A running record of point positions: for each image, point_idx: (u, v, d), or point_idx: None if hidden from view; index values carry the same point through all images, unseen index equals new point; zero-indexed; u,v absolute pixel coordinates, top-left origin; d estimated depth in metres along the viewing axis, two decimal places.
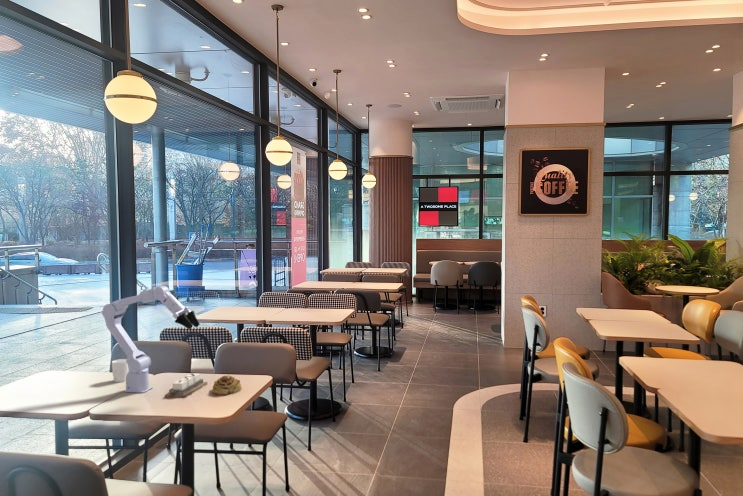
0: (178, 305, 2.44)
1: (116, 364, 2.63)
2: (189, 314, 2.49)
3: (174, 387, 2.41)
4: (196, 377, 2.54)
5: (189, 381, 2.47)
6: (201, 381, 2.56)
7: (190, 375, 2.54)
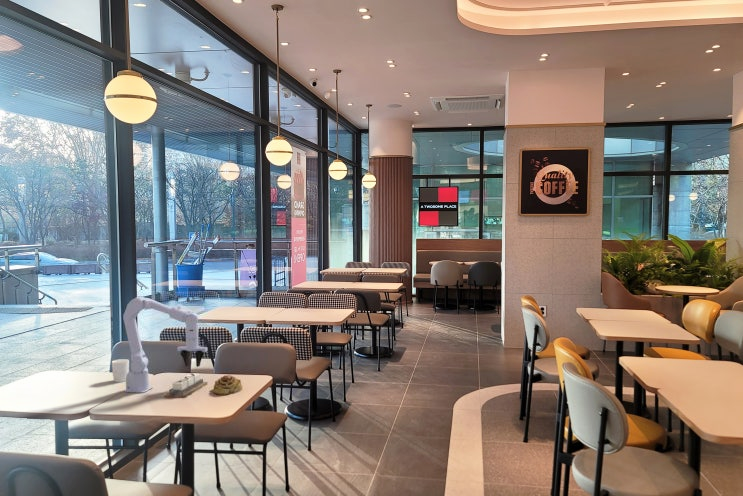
0: None
1: (116, 364, 2.63)
2: (188, 351, 2.56)
3: (174, 387, 2.41)
4: (196, 377, 2.54)
5: (189, 381, 2.47)
6: (201, 381, 2.56)
7: (190, 375, 2.54)
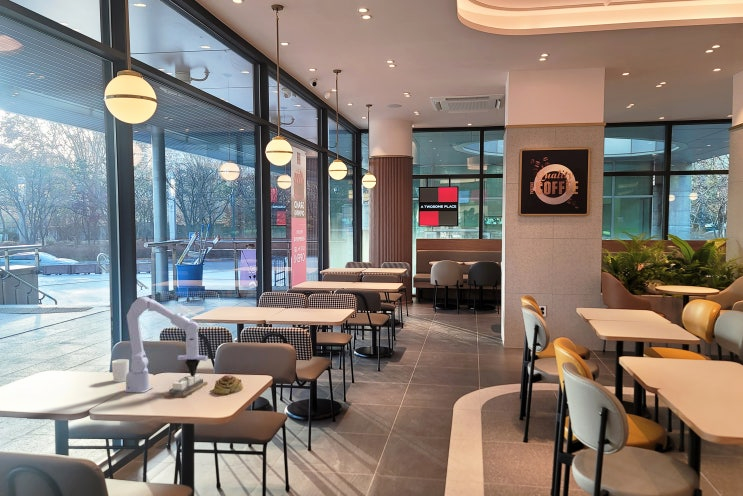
0: None
1: (116, 364, 2.63)
2: None
3: (174, 387, 2.41)
4: (196, 378, 2.54)
5: (189, 381, 2.47)
6: (201, 381, 2.56)
7: (190, 376, 2.54)
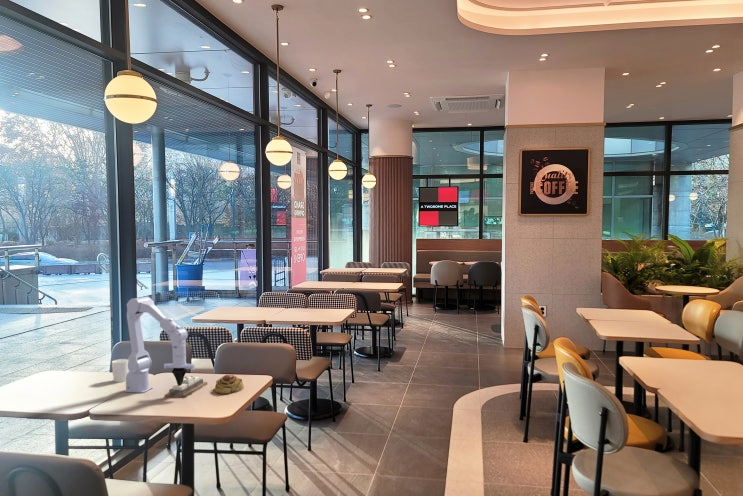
0: None
1: (116, 364, 2.63)
2: None
3: None
4: (196, 380, 2.54)
5: (189, 381, 2.47)
6: (201, 381, 2.56)
7: None
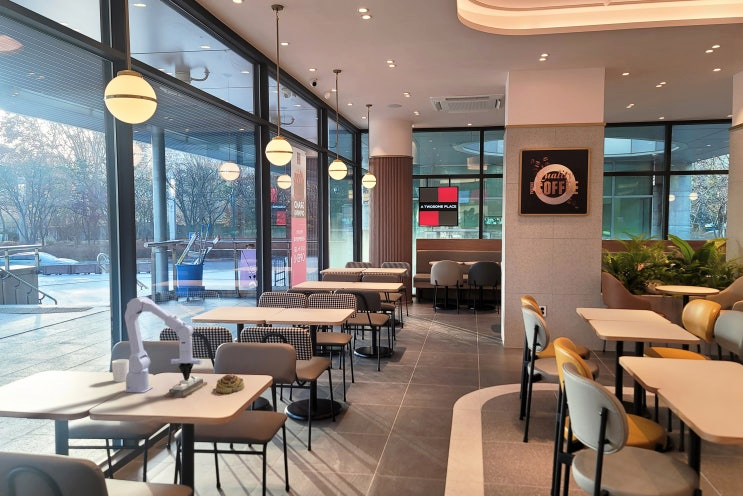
0: None
1: (116, 364, 2.63)
2: None
3: None
4: (196, 380, 2.54)
5: (189, 383, 2.47)
6: (201, 381, 2.56)
7: (190, 378, 2.54)
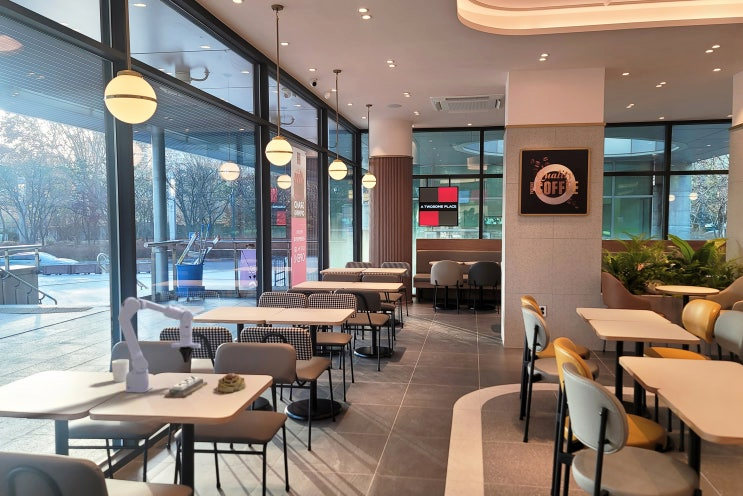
0: None
1: (116, 364, 2.63)
2: None
3: None
4: (196, 380, 2.54)
5: (189, 384, 2.47)
6: (201, 381, 2.56)
7: (190, 378, 2.54)
